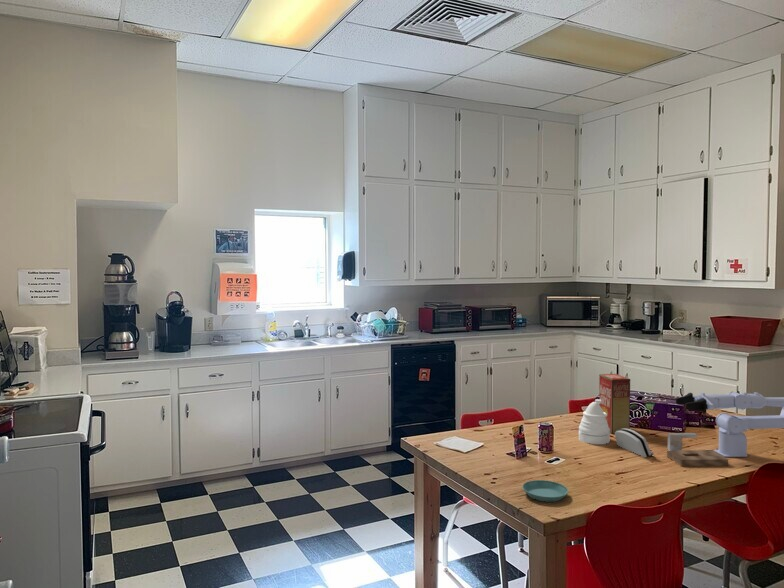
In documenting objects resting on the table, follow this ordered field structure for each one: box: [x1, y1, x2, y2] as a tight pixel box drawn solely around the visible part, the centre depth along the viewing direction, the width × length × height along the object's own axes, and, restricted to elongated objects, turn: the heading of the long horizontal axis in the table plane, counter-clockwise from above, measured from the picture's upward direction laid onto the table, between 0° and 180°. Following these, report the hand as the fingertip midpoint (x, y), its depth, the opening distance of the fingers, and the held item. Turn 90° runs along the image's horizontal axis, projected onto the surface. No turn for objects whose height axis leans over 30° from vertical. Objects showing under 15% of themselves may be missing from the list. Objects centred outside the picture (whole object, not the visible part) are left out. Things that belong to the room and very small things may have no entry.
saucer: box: [521, 479, 569, 503], centre depth 195 cm, size 15×15×3 cm
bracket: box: [667, 432, 698, 451], centre depth 241 cm, size 11×2×7 cm, turn 92°
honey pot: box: [578, 398, 611, 445], centre depth 255 cm, size 13×13×18 cm
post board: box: [666, 449, 729, 467], centre depth 228 cm, size 18×11×2 cm, turn 92°
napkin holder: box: [614, 428, 655, 458], centre depth 240 cm, size 17×5×10 cm, turn 16°
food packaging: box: [598, 373, 631, 435], centre depth 271 cm, size 13×9×25 cm
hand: (680, 403), depth 235 cm, fingers open, 7 cm apart
